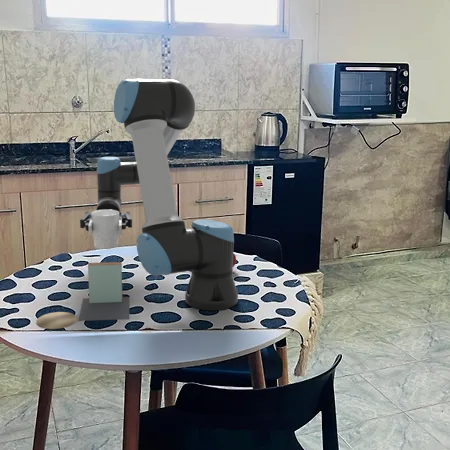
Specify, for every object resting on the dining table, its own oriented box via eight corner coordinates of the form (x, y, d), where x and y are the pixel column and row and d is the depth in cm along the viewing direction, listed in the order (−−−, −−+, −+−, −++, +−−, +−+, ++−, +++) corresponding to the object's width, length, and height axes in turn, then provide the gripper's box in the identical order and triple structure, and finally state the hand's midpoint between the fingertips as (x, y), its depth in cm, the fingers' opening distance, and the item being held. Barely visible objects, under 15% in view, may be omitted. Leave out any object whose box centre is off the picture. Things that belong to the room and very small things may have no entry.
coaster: (85, 320, 153) (85, 317, 153) (55, 334, 145) (55, 331, 145) (58, 311, 158) (57, 309, 158) (28, 324, 150) (28, 321, 150)
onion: (216, 268, 196) (216, 245, 194) (232, 267, 198) (233, 244, 196) (221, 274, 191) (221, 250, 189) (238, 272, 193) (238, 249, 191)
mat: (83, 300, 167) (83, 298, 167) (129, 298, 169) (129, 296, 168) (78, 322, 152) (78, 320, 152) (129, 321, 154) (129, 318, 154)
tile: (89, 300, 166) (88, 262, 163) (122, 298, 167) (121, 262, 164) (89, 303, 163) (87, 265, 160) (122, 302, 164) (121, 264, 162)
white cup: (117, 250, 168) (116, 216, 165) (89, 249, 168) (88, 215, 165) (122, 242, 175) (121, 209, 173) (95, 241, 175) (94, 209, 173)
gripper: (140, 222, 189) (142, 242, 168) (75, 223, 186) (68, 243, 165) (140, 199, 188) (141, 217, 166) (74, 200, 184) (67, 217, 163)
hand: (105, 230), depth 165 cm, fingers closed on white cup, 8 cm apart
